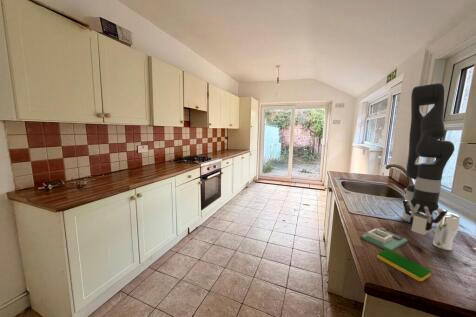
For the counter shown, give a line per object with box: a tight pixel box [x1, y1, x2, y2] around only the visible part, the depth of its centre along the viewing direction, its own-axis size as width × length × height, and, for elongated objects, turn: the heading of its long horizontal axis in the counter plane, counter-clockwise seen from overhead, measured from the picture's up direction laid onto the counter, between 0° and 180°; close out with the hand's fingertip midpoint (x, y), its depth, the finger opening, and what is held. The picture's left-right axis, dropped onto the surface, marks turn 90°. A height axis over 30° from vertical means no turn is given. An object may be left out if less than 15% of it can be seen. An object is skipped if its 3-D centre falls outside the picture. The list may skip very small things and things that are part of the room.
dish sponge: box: [376, 249, 432, 282], centre depth 73 cm, size 7×14×2 cm, turn 25°
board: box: [360, 227, 408, 252], centre depth 90 cm, size 16×12×3 cm
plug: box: [411, 212, 429, 236], centre depth 81 cm, size 4×4×8 cm
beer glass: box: [432, 211, 461, 251], centre depth 85 cm, size 7×7×15 cm
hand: (419, 227), depth 82 cm, fingers closed on plug, 4 cm apart
